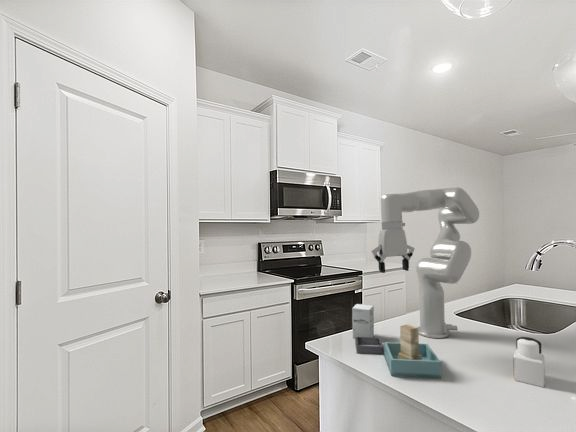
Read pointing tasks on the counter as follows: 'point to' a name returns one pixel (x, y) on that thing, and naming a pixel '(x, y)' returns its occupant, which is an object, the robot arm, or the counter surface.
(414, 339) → the strut
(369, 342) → the collar
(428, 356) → the bin
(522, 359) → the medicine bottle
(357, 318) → the supplement box
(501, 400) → the counter surface
